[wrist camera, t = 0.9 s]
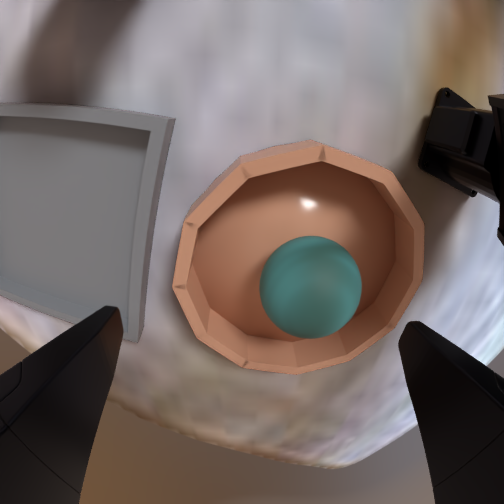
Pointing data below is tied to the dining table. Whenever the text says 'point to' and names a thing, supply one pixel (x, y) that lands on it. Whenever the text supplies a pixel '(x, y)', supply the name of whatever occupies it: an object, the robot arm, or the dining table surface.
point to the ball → (310, 287)
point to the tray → (79, 208)
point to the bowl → (285, 229)
